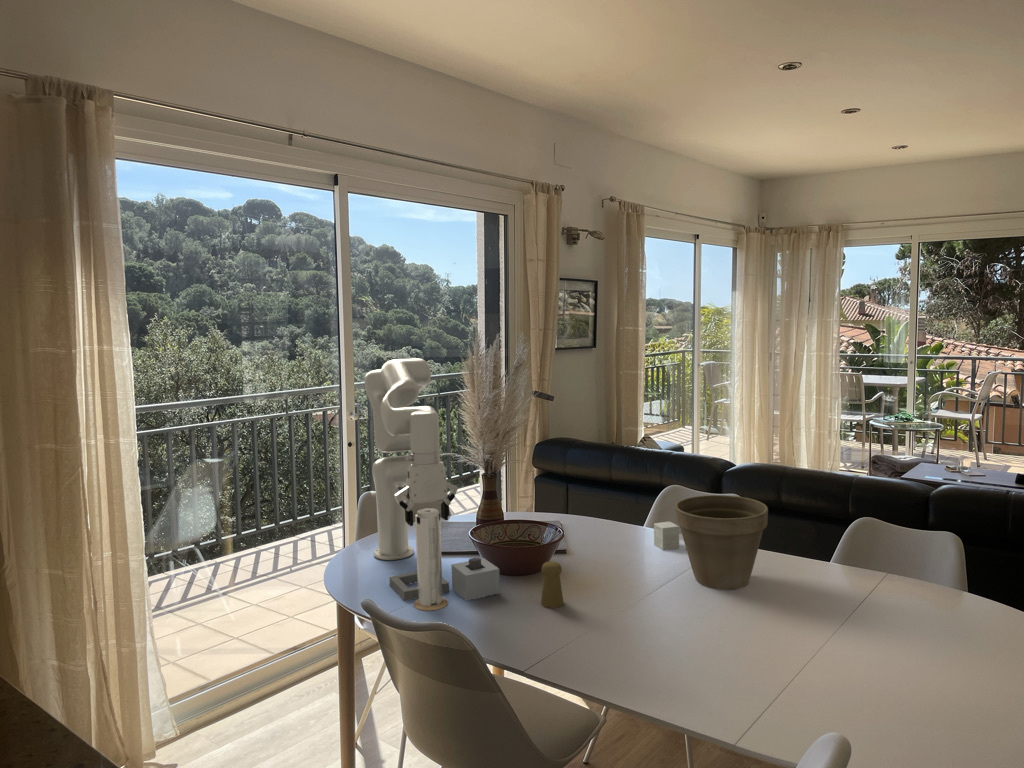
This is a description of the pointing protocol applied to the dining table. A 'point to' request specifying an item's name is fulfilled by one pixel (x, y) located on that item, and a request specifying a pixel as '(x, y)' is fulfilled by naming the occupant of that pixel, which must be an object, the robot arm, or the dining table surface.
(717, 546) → the plant pot
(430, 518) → the air filter
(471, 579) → the housing
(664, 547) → the grey cube
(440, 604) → the pad
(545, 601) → the pepper shaker
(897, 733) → the dining table surface
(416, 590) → the collar
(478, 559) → the plunger
